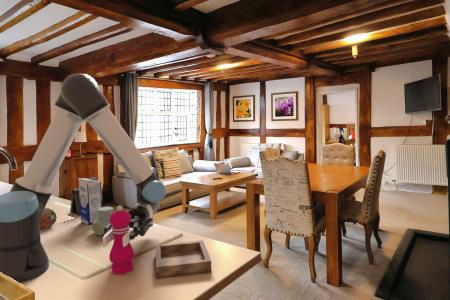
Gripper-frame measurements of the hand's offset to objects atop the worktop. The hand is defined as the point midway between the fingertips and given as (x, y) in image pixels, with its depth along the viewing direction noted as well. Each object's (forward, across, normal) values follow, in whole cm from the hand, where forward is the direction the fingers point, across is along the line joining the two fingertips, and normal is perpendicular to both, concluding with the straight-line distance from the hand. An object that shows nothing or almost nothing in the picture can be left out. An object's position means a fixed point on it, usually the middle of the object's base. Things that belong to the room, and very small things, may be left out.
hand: (114, 241), depth 90 cm
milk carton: (-47, +29, -11) cm, 56 cm away
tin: (-38, +48, -11) cm, 62 cm away
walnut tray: (-10, -17, -11) cm, 23 cm away
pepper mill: (-5, 0, -11) cm, 12 cm away
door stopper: (-61, +41, -11) cm, 74 cm away
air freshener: (-35, +17, -11) cm, 40 cm away
